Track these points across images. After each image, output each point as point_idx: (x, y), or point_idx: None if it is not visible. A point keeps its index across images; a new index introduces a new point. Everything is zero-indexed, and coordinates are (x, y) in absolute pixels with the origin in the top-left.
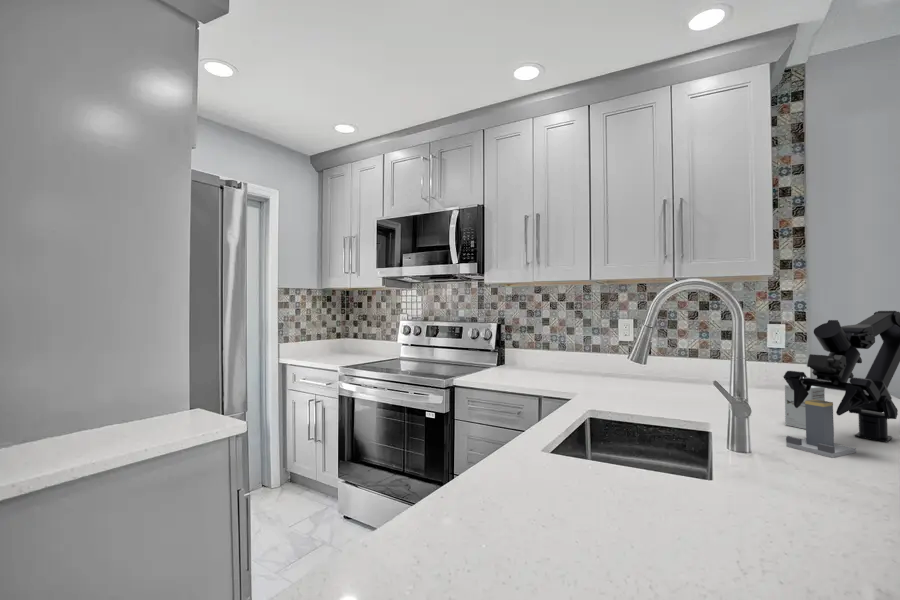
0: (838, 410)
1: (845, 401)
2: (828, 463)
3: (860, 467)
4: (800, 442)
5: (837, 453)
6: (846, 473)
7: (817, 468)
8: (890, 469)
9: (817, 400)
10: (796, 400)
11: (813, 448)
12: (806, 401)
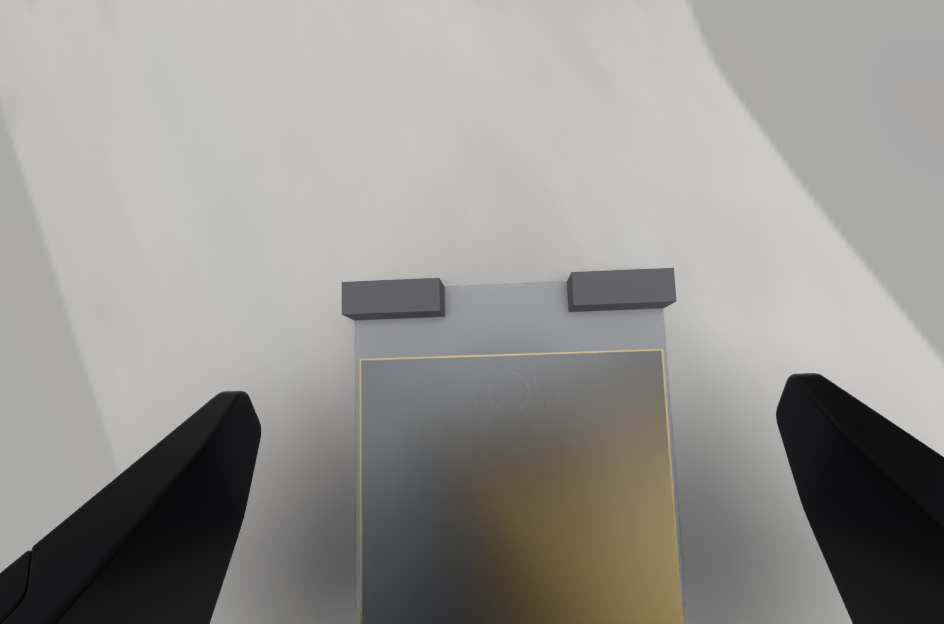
0: (209, 413)
1: (44, 546)
2: (312, 152)
3: (193, 249)
4: (570, 294)
5: (356, 353)
6: (179, 63)
7: (290, 3)
8: (97, 376)
9: (591, 608)
10: (855, 430)
11: (477, 296)
12: (637, 352)
